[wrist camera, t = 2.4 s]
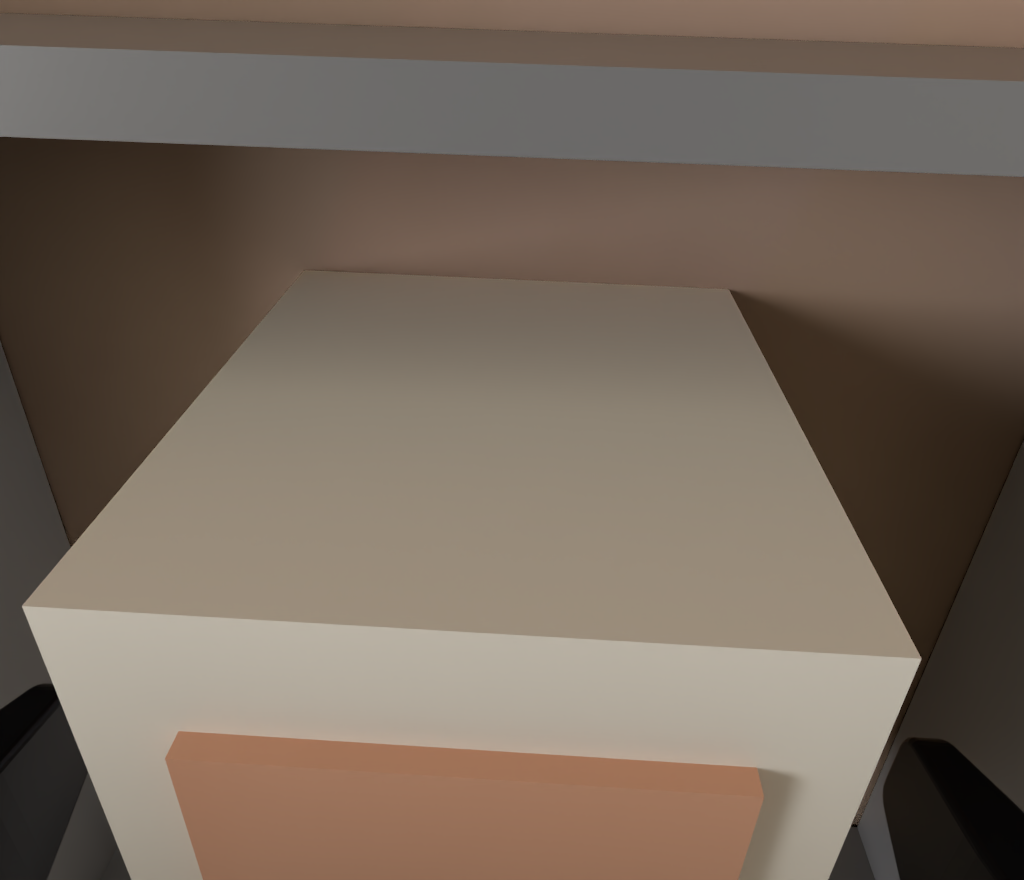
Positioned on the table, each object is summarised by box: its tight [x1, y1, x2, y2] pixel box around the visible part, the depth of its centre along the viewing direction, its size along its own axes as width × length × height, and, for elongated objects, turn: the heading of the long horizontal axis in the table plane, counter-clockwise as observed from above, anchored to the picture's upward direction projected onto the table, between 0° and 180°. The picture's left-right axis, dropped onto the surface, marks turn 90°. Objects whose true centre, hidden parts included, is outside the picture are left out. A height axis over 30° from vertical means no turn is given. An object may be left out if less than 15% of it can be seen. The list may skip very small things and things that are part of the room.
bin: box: [0, 13, 1024, 880], centre depth 10 cm, size 14×13×3 cm
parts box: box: [22, 270, 921, 880], centre depth 9 cm, size 5×8×6 cm, turn 179°
